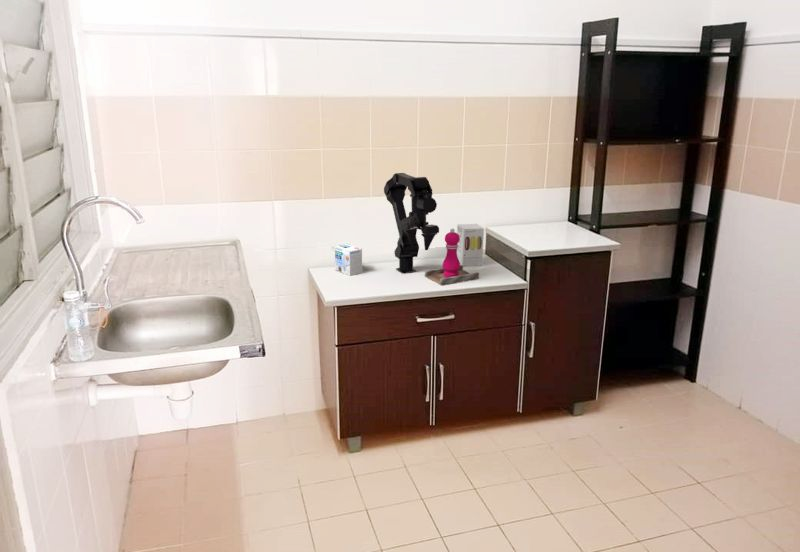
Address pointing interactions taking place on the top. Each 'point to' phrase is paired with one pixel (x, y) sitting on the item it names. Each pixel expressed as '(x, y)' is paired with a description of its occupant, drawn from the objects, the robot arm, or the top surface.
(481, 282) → the top surface
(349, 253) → the light bulb box
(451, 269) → the pepper mill
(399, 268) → the robot arm
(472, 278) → the track board
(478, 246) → the supplement box
